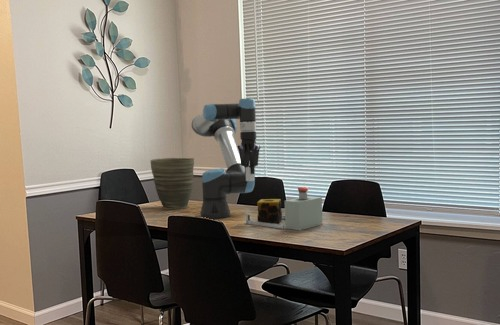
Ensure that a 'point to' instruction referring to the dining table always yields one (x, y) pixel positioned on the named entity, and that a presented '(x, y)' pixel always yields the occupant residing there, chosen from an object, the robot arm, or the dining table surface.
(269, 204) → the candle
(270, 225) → the rail track
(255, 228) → the dining table surface
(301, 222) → the gauge cabinet
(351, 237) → the dining table surface
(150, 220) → the dining table surface
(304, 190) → the plunger
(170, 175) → the vase
